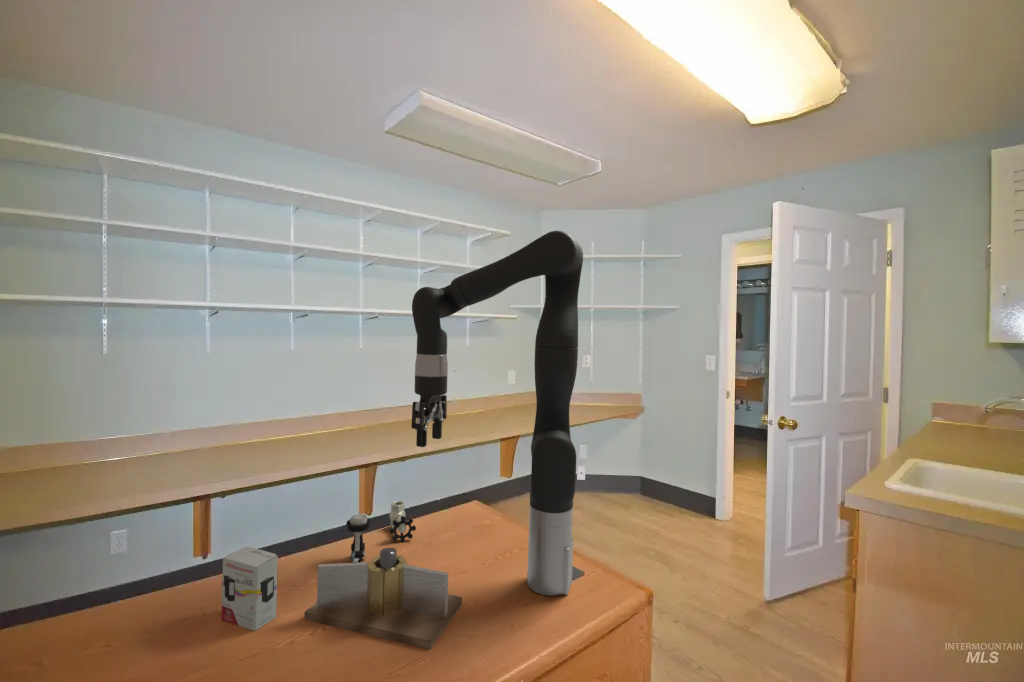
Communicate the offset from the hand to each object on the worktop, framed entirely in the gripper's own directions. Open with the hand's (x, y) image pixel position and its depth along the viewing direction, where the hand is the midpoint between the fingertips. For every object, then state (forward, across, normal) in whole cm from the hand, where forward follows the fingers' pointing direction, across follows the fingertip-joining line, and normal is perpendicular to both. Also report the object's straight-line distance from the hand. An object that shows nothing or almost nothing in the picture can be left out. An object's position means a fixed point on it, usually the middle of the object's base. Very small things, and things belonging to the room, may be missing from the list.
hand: (429, 442), depth 112 cm
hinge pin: (+26, -21, -2) cm, 34 cm away
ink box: (+28, -31, +21) cm, 47 cm away
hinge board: (+28, -22, -2) cm, 35 cm away
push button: (+28, -6, +14) cm, 32 cm away
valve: (+28, +11, +13) cm, 32 cm away
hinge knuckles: (+26, -23, -2) cm, 35 cm away
